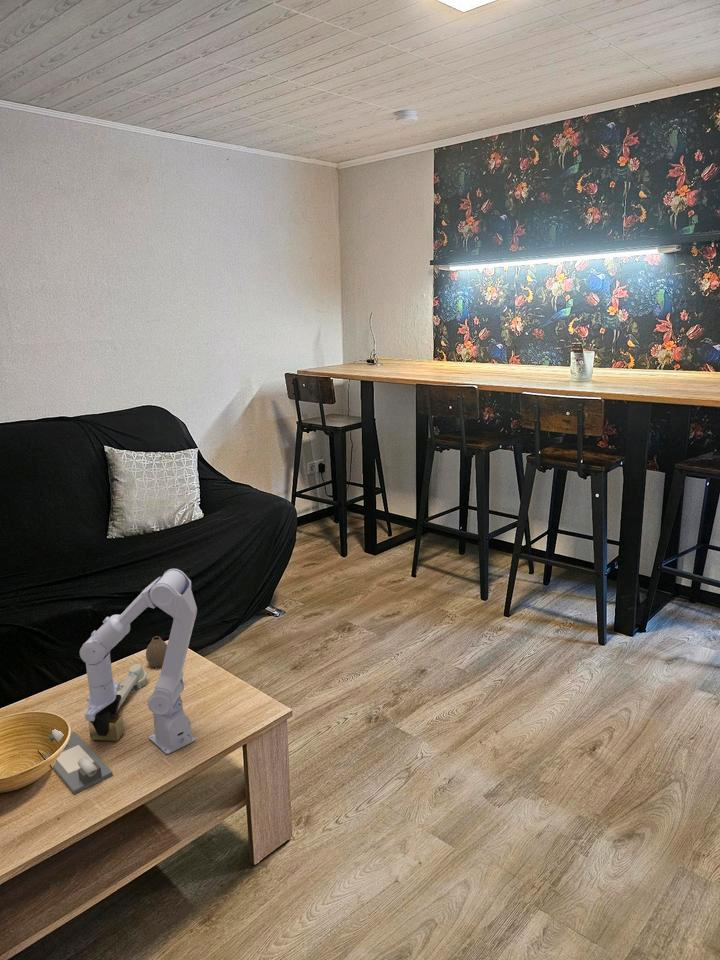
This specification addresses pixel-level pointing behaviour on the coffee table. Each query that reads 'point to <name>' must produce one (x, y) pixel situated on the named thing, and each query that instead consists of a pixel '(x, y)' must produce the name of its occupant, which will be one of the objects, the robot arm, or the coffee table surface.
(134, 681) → the grey long handheld tool
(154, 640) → the vase
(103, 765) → the coupling bed
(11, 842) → the coffee table surface
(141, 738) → the coffee table surface
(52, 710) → the coffee table surface
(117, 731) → the block
